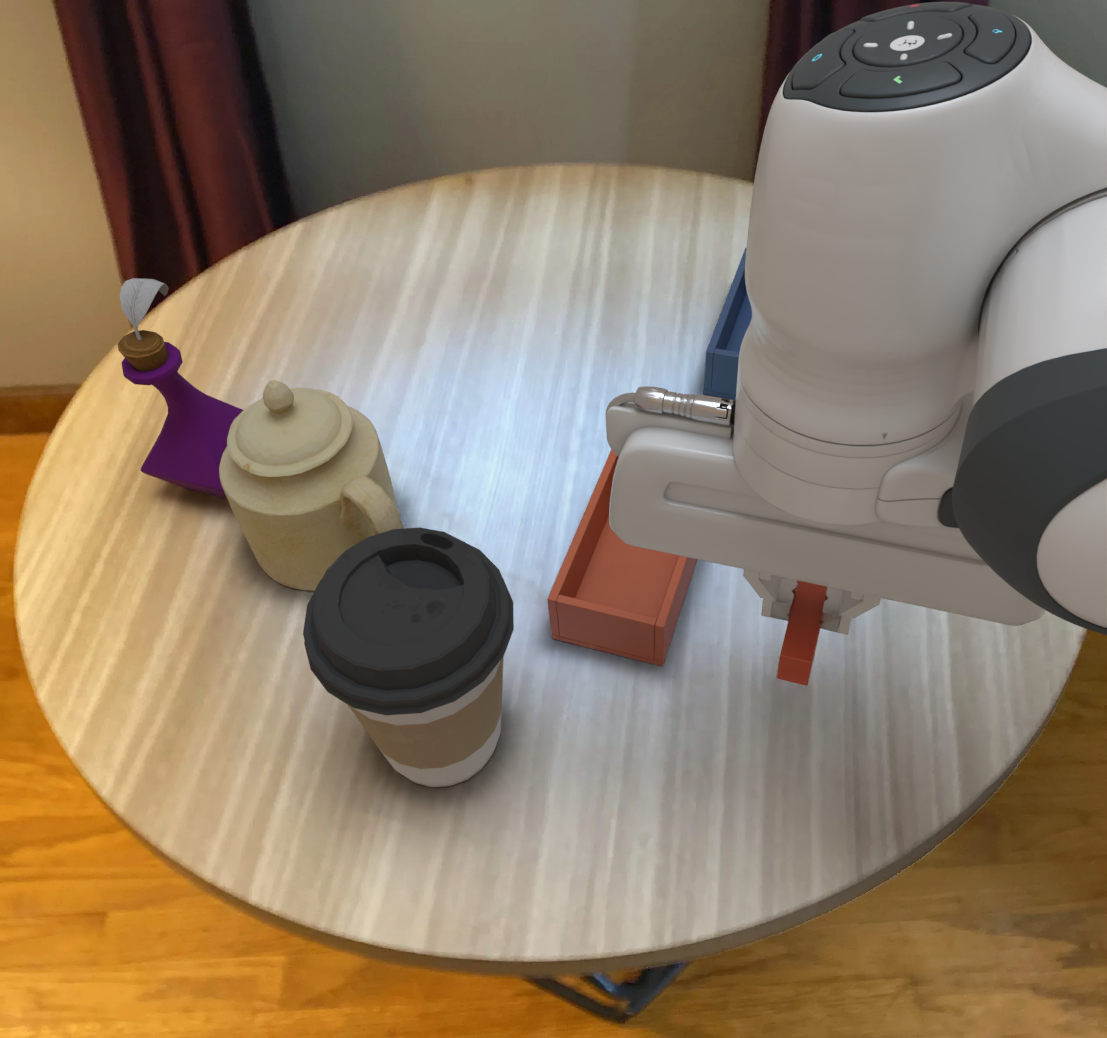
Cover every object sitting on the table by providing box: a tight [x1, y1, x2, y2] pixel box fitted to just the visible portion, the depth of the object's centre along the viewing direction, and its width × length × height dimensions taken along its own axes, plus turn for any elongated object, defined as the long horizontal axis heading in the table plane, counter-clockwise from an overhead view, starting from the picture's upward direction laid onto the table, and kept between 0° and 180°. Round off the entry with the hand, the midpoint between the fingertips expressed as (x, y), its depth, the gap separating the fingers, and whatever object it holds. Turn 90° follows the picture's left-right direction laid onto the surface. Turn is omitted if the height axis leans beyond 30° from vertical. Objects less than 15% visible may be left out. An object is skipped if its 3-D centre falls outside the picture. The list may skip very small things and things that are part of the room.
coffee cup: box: [302, 526, 515, 788], centre depth 59 cm, size 11×11×15 cm
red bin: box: [546, 448, 698, 667], centre depth 71 cm, size 8×14×4 cm, turn 161°
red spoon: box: [776, 581, 827, 687], centre depth 55 cm, size 10×4×2 cm, turn 161°
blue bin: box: [703, 247, 752, 401], centre depth 85 cm, size 8×14×4 cm, turn 161°
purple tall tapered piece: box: [117, 277, 244, 499], centre depth 74 cm, size 8×8×18 cm
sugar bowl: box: [219, 379, 404, 592], centre depth 70 cm, size 15×11×15 cm
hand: (806, 615), depth 54 cm, fingers closed on red spoon, 1 cm apart
